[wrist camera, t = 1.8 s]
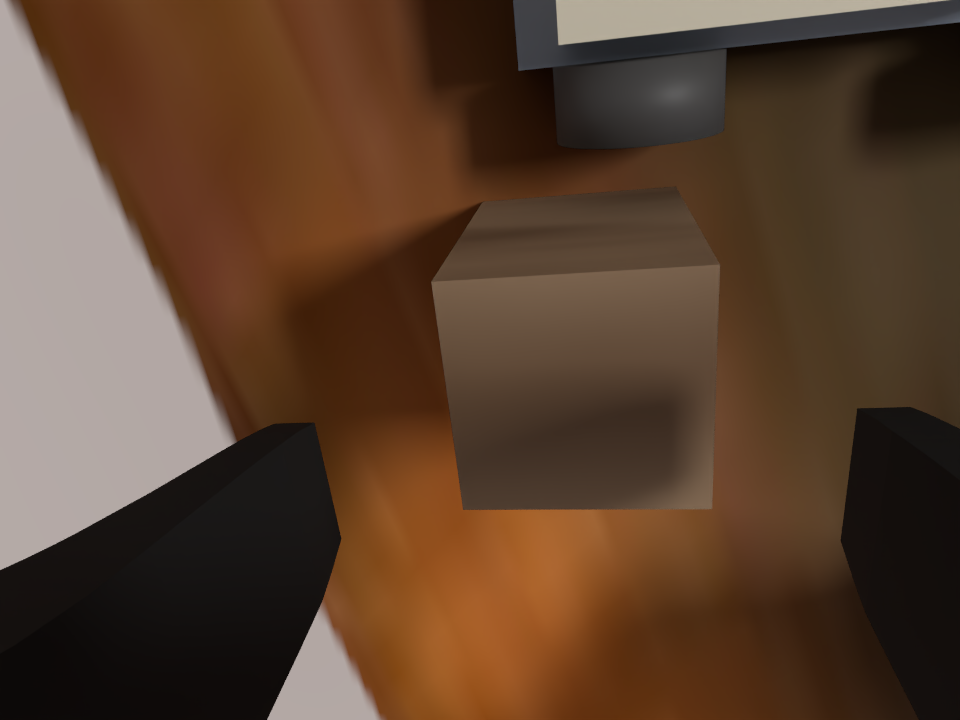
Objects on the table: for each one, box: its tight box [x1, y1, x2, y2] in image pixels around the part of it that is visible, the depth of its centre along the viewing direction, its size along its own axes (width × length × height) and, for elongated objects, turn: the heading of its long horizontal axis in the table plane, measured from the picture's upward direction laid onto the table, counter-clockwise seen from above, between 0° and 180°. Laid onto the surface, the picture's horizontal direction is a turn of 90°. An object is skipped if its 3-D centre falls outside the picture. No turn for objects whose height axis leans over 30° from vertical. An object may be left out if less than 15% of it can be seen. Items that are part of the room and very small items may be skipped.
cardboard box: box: [431, 187, 720, 510], centre depth 14 cm, size 4×4×6 cm
